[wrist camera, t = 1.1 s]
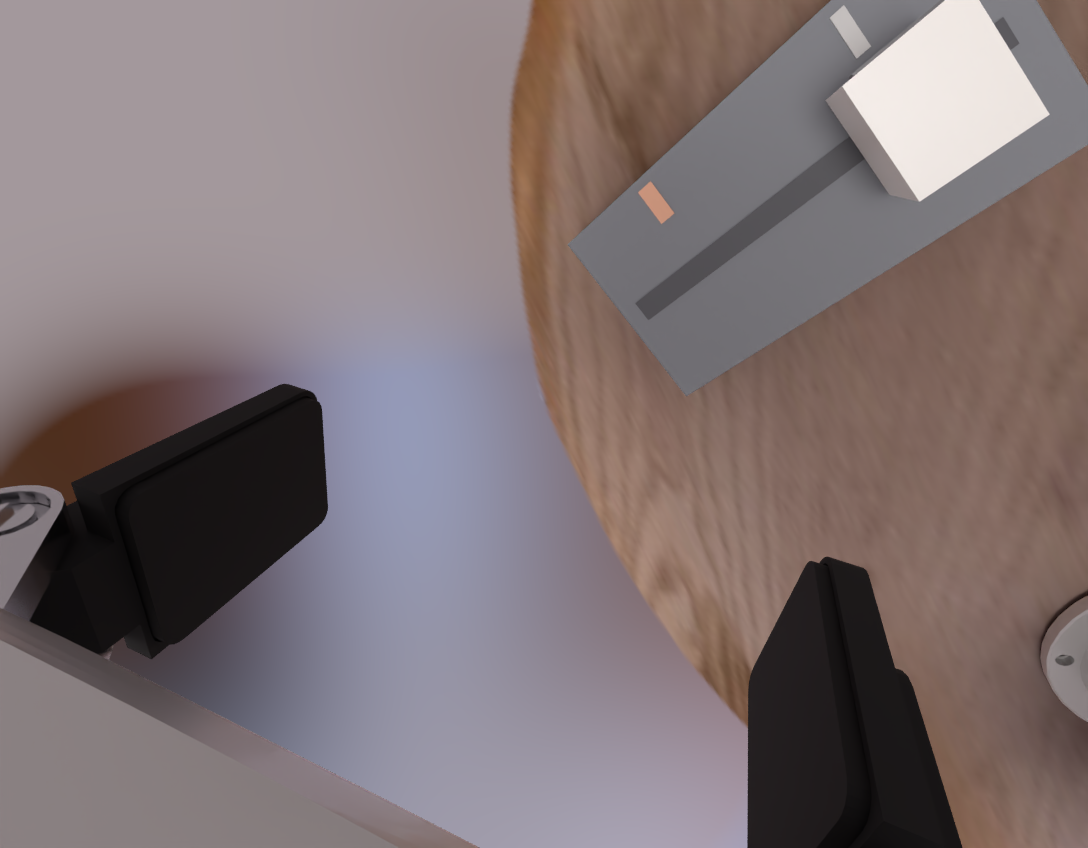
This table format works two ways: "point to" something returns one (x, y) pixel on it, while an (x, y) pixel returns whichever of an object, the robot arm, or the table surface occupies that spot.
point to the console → (801, 193)
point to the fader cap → (936, 100)
